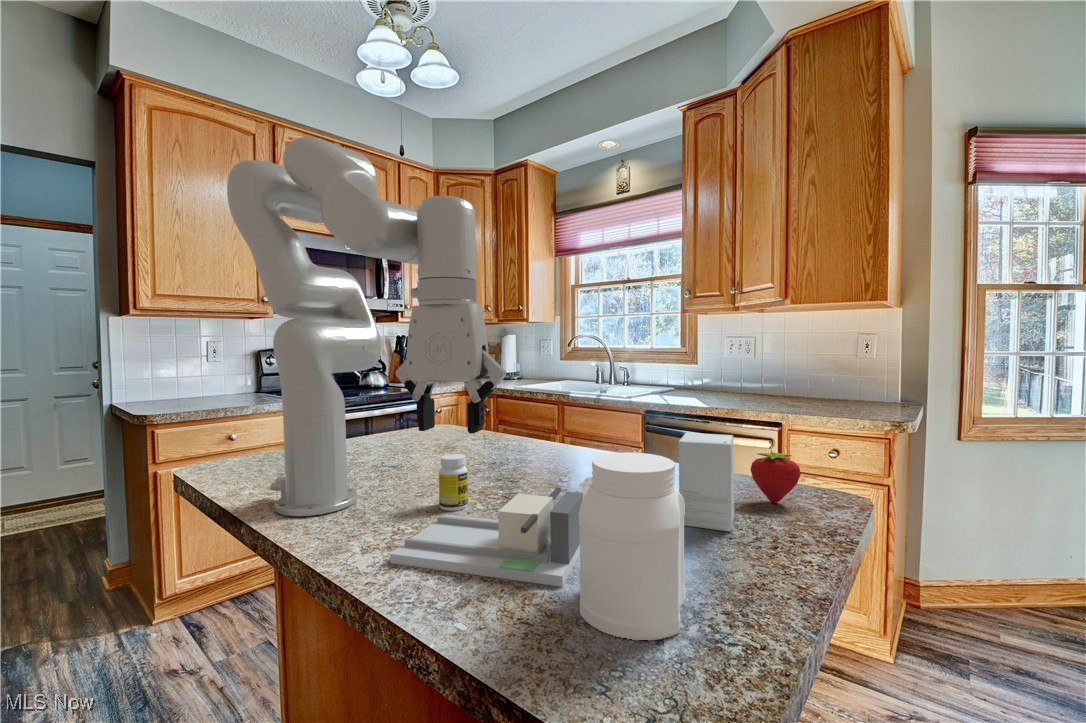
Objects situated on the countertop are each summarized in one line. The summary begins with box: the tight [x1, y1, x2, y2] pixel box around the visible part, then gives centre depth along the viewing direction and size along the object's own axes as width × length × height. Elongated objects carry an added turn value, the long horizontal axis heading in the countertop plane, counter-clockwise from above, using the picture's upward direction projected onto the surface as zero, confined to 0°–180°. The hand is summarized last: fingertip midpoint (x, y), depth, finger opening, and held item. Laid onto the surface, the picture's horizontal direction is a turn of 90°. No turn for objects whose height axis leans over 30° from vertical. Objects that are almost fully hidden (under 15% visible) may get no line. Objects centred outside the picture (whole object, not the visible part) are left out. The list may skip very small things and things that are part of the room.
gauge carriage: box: [497, 487, 562, 554], centre depth 62 cm, size 5×15×5 cm, turn 163°
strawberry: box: [750, 443, 802, 504], centre depth 81 cm, size 6×8×10 cm
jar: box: [579, 452, 686, 641], centre depth 50 cm, size 12×10×15 cm
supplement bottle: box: [438, 453, 469, 512], centre depth 81 cm, size 5×5×8 cm
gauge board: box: [389, 491, 583, 588], centre depth 64 cm, size 22×14×7 cm, turn 73°
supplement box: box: [677, 432, 735, 532], centre depth 73 cm, size 7×7×13 cm
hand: (450, 429), depth 65 cm, fingers open, 6 cm apart
